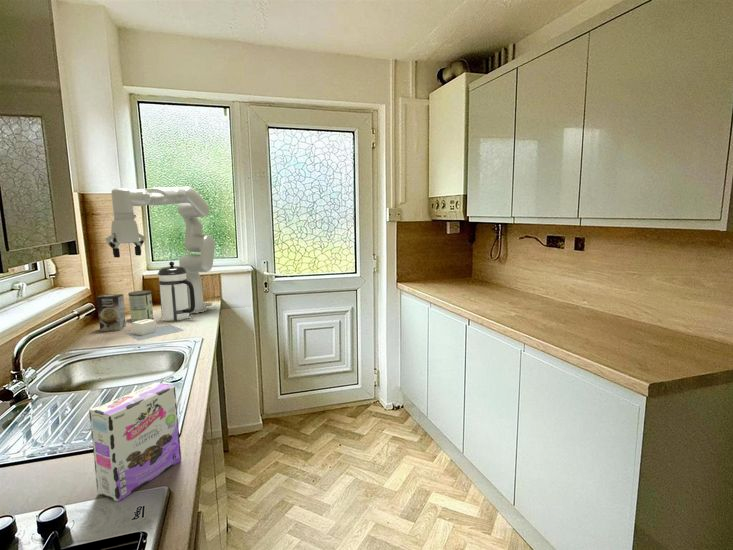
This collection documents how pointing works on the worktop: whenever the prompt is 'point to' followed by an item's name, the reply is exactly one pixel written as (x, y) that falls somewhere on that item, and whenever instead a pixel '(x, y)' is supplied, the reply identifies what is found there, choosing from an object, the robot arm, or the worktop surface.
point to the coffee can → (140, 305)
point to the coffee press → (175, 293)
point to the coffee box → (111, 312)
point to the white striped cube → (144, 327)
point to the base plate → (157, 332)
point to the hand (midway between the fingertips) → (127, 256)
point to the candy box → (134, 439)
